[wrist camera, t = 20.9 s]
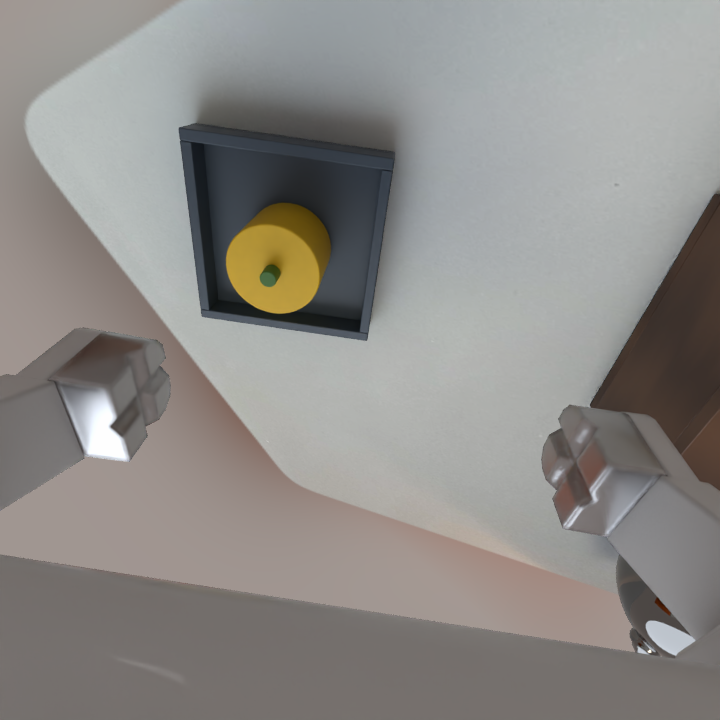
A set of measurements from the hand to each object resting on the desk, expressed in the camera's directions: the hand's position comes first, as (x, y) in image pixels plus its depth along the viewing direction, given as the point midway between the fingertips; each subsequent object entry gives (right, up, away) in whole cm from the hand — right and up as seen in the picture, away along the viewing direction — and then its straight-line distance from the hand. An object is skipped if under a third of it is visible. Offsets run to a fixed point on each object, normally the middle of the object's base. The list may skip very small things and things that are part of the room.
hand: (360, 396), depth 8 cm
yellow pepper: (-4, +8, +17) cm, 20 cm away
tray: (-4, +8, +18) cm, 20 cm away
